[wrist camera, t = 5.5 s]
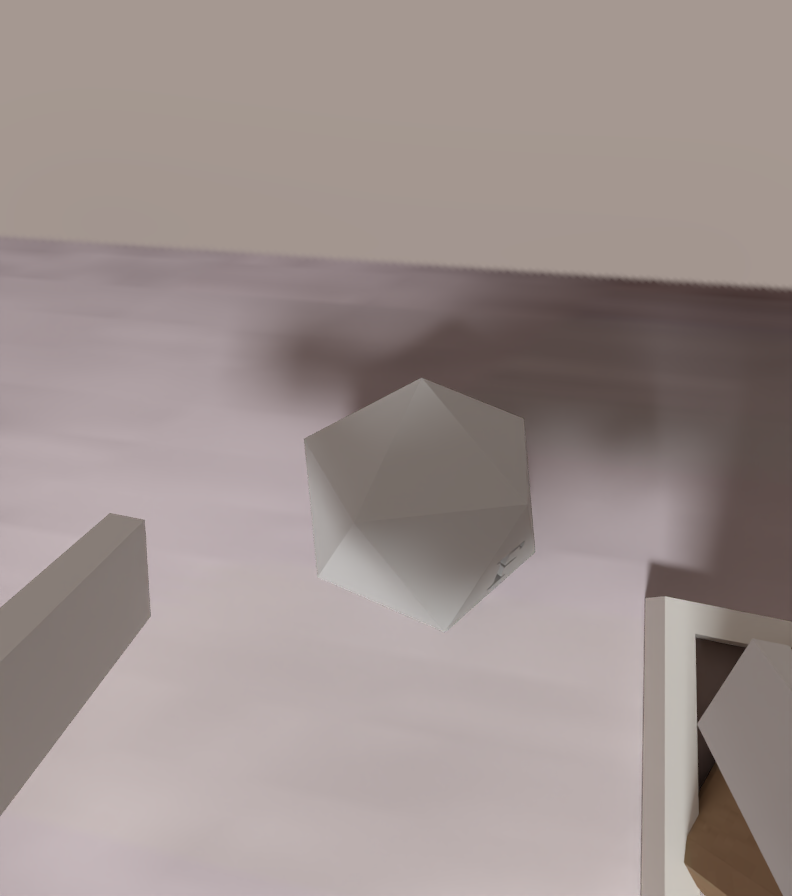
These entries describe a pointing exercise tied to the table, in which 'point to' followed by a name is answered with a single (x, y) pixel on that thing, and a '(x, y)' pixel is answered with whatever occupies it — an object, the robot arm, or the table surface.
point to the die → (421, 501)
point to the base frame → (680, 727)
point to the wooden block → (725, 846)
